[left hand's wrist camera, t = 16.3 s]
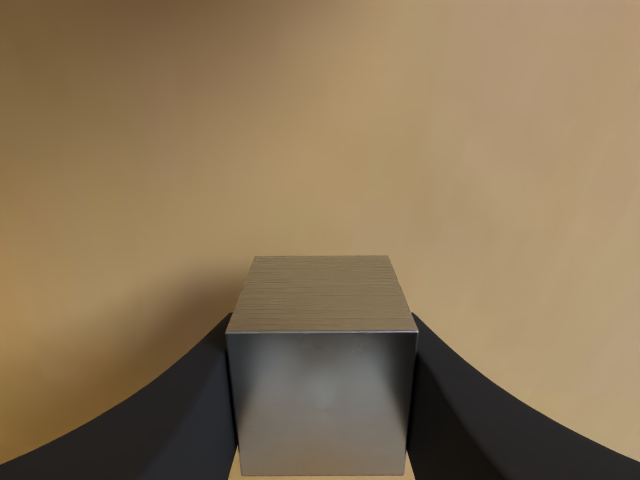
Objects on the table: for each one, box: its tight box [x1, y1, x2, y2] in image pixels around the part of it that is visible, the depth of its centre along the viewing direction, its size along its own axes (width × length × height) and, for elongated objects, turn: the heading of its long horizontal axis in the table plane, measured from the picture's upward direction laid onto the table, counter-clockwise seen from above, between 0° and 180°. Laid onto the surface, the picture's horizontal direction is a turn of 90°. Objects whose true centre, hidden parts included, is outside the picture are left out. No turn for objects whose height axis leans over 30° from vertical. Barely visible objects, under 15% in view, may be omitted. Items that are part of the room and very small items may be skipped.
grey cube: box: [225, 256, 419, 476], centre depth 11 cm, size 4×4×4 cm
